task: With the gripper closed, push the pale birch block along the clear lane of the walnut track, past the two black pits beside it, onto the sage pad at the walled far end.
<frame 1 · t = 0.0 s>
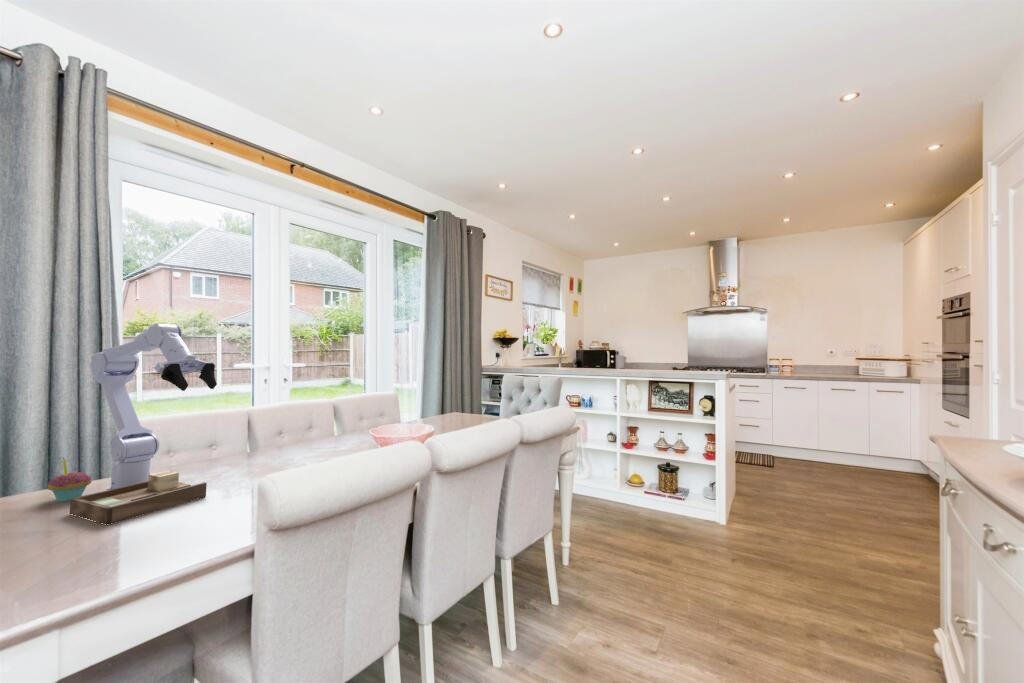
hand: (200, 387, 117), 32 cm above the table, tool tilted 50°, fingers open, 7 cm apart
cupcake: (68, 499, 117), on the table
birch block: (163, 487, 121), point 2 cm above the table, touching trap track
trap track: (144, 504, 115), on the table
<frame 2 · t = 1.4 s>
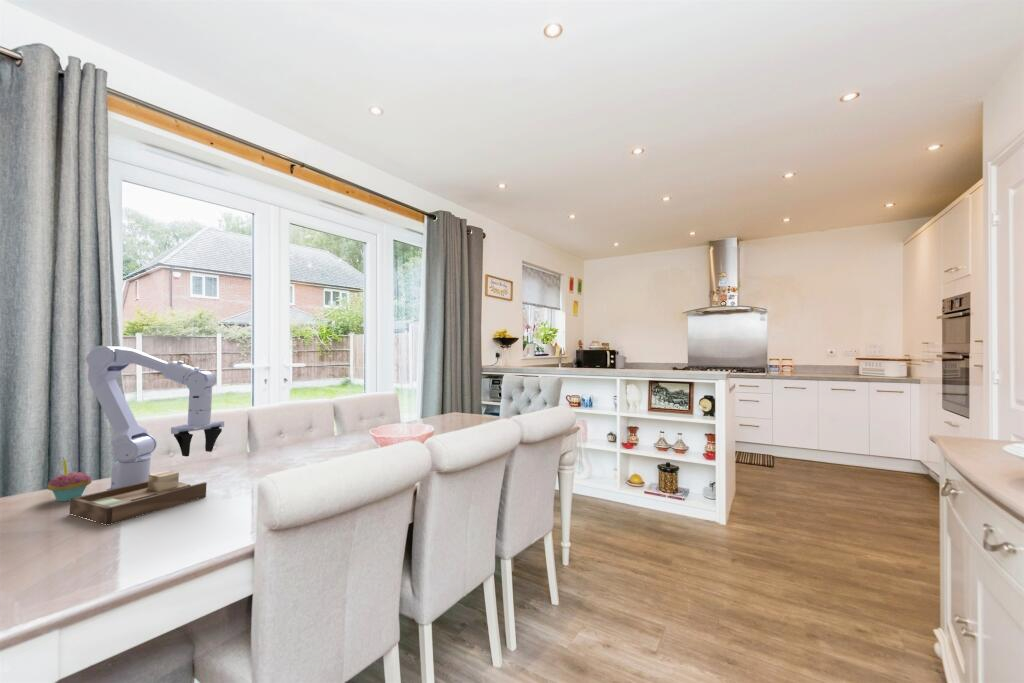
hand: (197, 453, 130), 10 cm above the table, tool pointing down, fingers open, 6 cm apart
nothing on the table moved.
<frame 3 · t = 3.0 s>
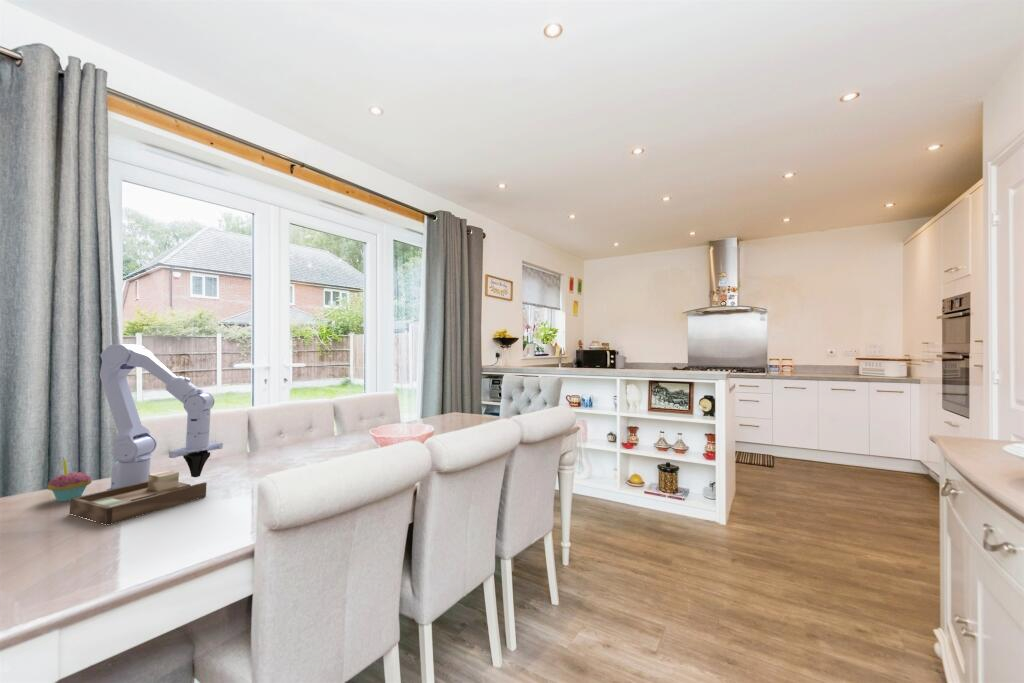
hand: (195, 476, 130), 3 cm above the table, tool pointing down, fingers closed
nothing on the table moved.
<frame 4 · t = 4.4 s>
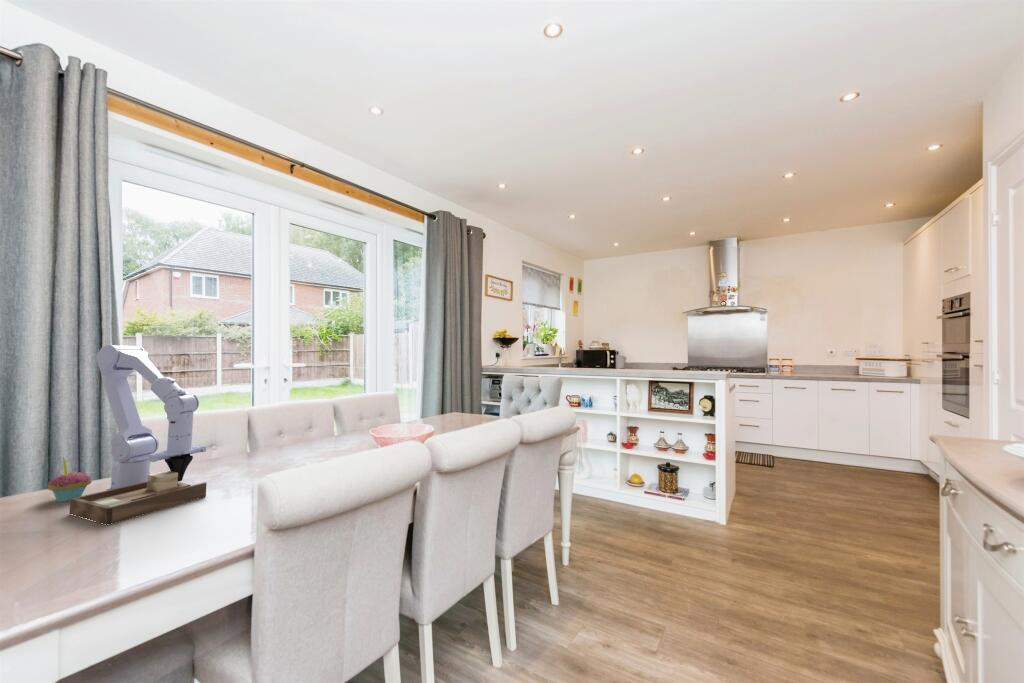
hand: (177, 480, 125), 3 cm above the table, tool pointing down, fingers closed
birch block: (162, 487, 121), point 2 cm above the table, touching gripper, trap track
everything else where it was.
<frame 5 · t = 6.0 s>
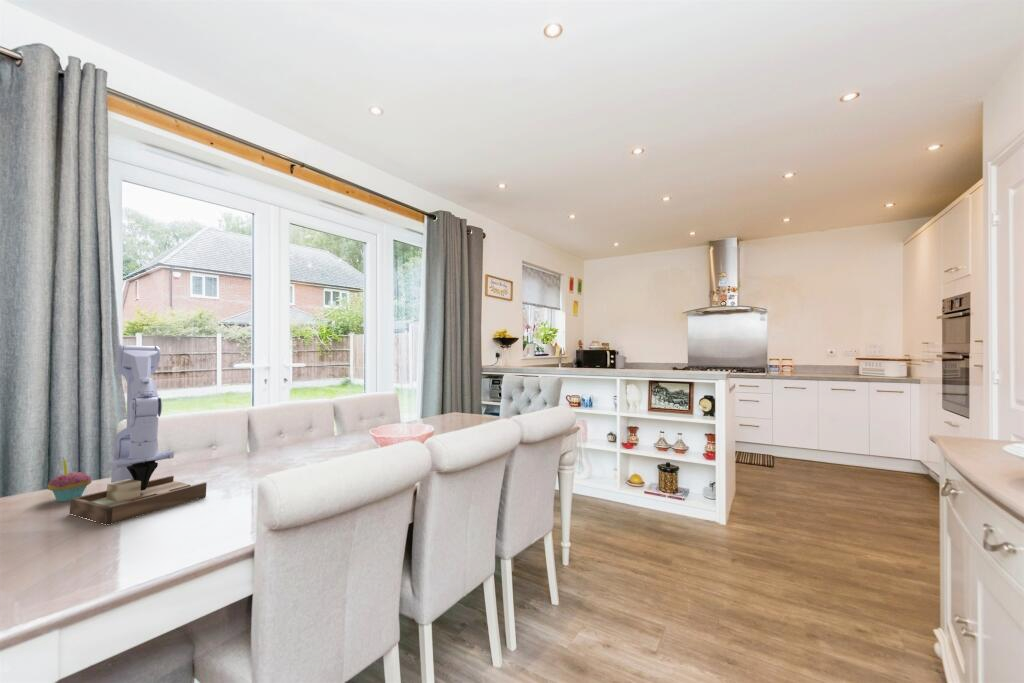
hand: (141, 489, 116), 3 cm above the table, tool pointing down, fingers closed
birch block: (123, 497, 112), point 3 cm above the table, touching gripper
everything else where it was.
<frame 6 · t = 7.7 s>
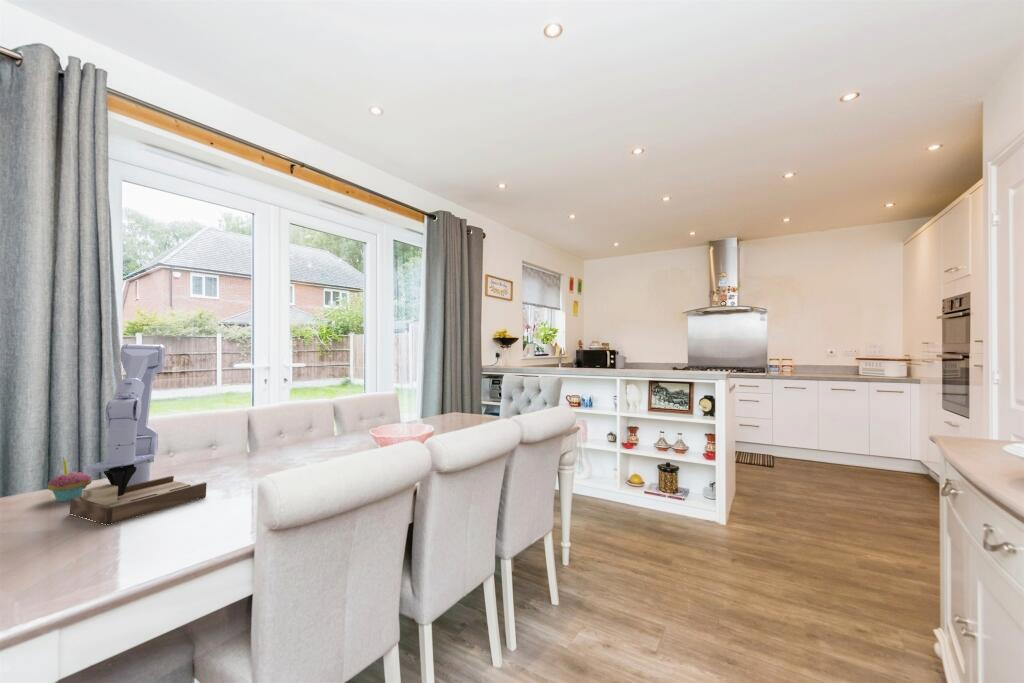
hand: (118, 495, 112), 3 cm above the table, tool pointing down, fingers closed
birch block: (99, 503, 108), point 2 cm above the table, touching gripper, trap track
everything else where it was.
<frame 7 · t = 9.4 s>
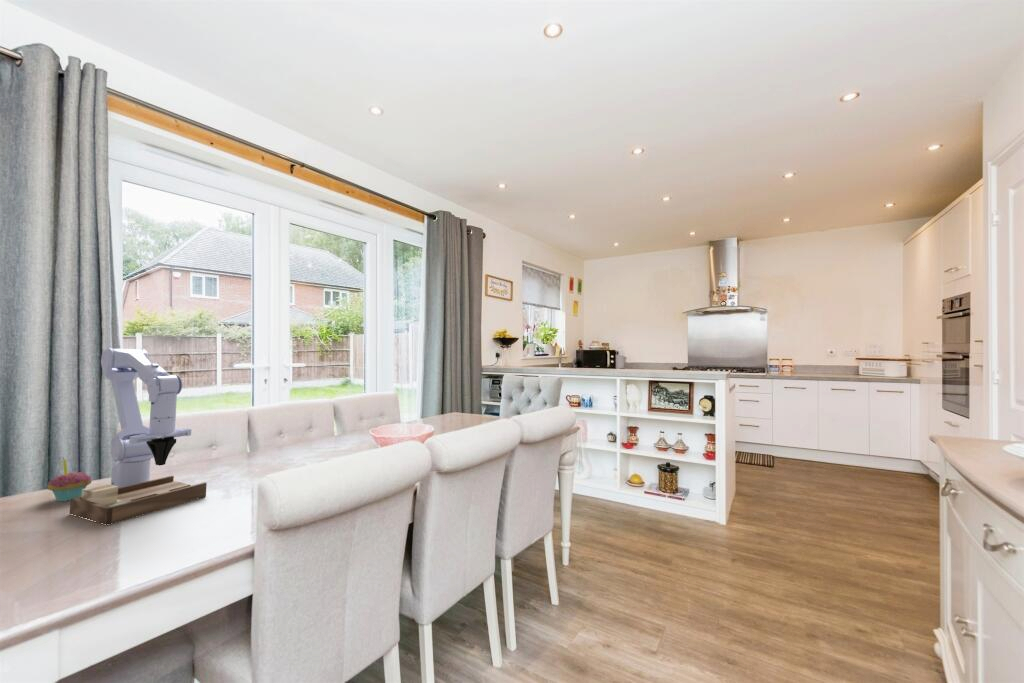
hand: (160, 464, 120), 9 cm above the table, tool pointing down, fingers closed
birch block: (99, 503, 108), point 2 cm above the table, touching trap track
everything else where it was.
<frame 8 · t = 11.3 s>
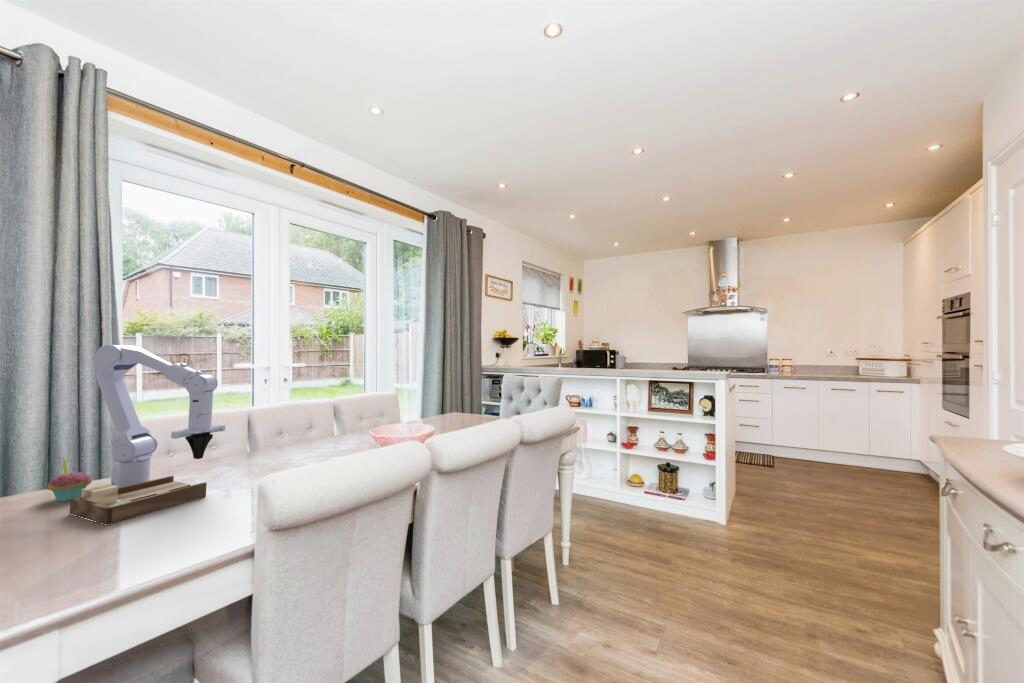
hand: (198, 458, 128), 9 cm above the table, tool pointing down, fingers closed
nothing on the table moved.
at the end: birch block inside the target area (1.4 cm from its centre), point 2.5 cm above the table; birch block tilted 0°; birch block moved 14.5 cm from its start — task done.
